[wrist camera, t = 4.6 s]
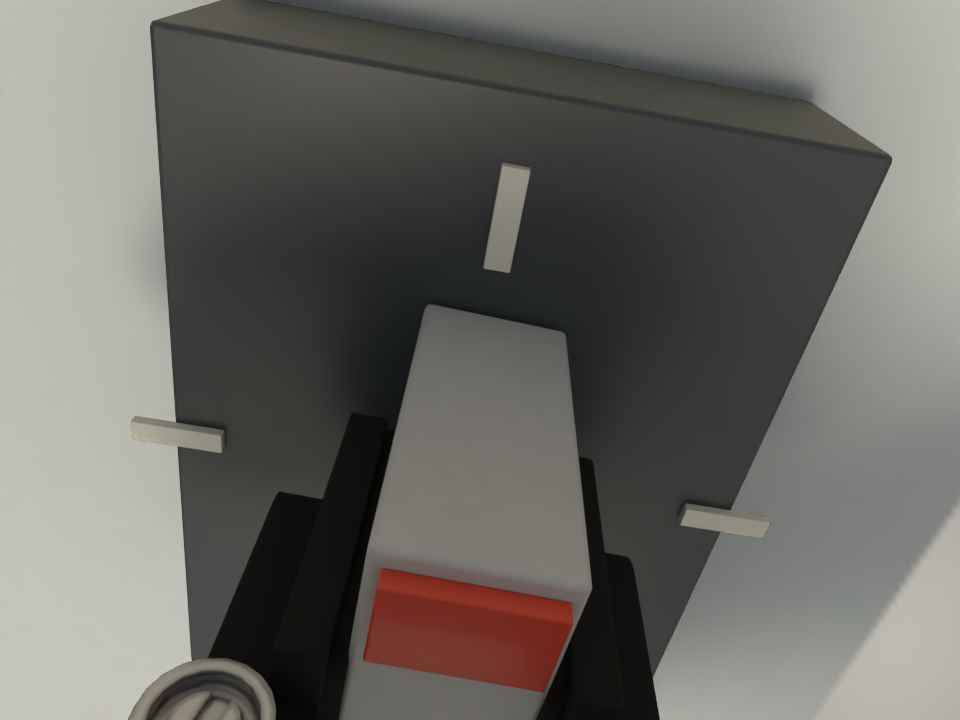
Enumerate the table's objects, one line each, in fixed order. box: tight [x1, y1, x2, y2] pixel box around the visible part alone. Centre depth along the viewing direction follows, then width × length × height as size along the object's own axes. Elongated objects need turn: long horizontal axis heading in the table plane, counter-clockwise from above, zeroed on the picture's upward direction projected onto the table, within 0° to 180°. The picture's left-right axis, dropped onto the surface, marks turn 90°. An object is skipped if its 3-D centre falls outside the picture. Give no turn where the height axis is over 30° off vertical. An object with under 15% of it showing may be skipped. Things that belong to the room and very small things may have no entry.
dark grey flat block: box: [131, 0, 892, 677], centre depth 13 cm, size 12×10×3 cm
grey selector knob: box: [338, 304, 592, 720], centre depth 10 cm, size 6×2×5 cm, turn 168°
